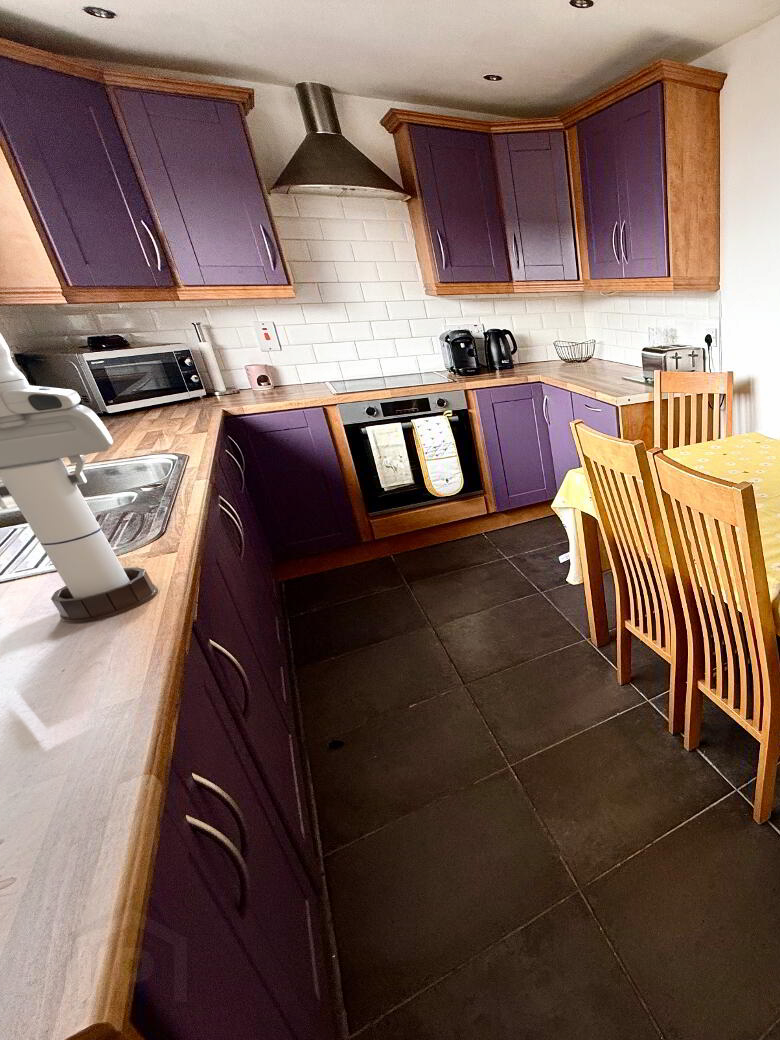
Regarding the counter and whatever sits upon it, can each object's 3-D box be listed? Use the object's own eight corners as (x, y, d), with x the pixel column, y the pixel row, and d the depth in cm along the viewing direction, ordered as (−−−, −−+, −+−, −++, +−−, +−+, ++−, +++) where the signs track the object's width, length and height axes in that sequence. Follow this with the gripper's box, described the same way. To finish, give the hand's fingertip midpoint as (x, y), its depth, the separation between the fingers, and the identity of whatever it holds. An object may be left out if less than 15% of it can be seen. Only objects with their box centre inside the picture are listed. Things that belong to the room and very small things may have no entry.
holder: (53, 632, 94) (39, 610, 92) (70, 602, 103) (58, 582, 101) (154, 605, 100) (142, 584, 99) (161, 579, 110) (151, 559, 108)
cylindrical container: (87, 615, 97) (1, 473, 86) (74, 605, 101) (-10, 467, 90) (142, 595, 102) (67, 459, 92) (128, 586, 106) (54, 454, 95)
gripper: (-125, 419, 79) (-61, 513, 85) (82, 394, 90) (125, 479, 96) (-105, 412, 84) (-46, 501, 89) (90, 389, 94) (131, 470, 100)
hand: (44, 489), depth 93 cm, fingers closed on cylindrical container, 7 cm apart
